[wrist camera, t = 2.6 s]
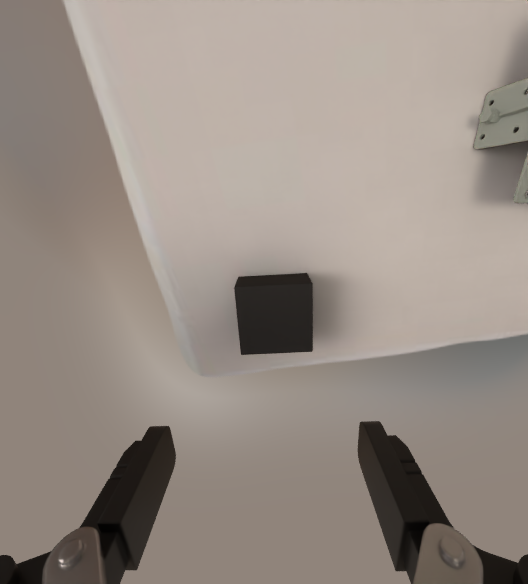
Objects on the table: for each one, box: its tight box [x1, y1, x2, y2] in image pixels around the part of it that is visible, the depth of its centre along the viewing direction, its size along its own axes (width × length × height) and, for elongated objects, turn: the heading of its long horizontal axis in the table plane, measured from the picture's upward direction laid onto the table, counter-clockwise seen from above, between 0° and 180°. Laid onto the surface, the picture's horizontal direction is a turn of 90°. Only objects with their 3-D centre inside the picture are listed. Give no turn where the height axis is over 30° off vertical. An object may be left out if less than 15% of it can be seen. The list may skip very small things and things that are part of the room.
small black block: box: [234, 273, 313, 355], centre depth 23 cm, size 6×6×3 cm
